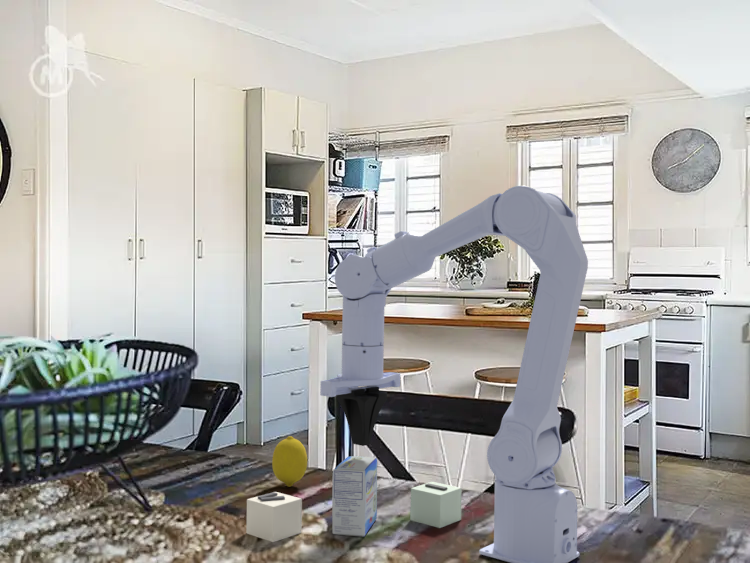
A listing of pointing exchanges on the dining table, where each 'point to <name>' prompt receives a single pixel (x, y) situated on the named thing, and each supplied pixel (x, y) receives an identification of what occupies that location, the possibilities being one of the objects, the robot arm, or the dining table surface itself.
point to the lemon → (289, 461)
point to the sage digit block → (435, 504)
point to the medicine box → (354, 496)
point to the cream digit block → (274, 516)
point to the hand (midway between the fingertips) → (361, 444)
